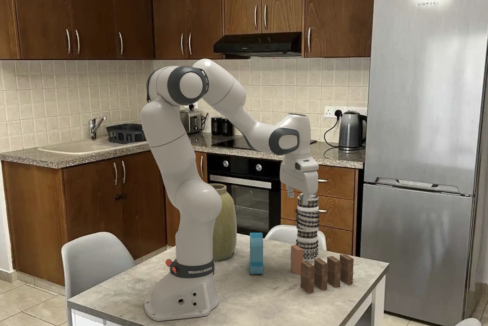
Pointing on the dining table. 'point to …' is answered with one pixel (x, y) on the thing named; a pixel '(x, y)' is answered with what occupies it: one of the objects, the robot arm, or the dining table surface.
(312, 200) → the decorative candle
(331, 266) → the domino
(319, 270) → the domino
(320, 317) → the dining table surface
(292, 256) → the domino
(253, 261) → the data package
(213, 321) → the dining table surface
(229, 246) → the vase
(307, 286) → the domino
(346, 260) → the domino
